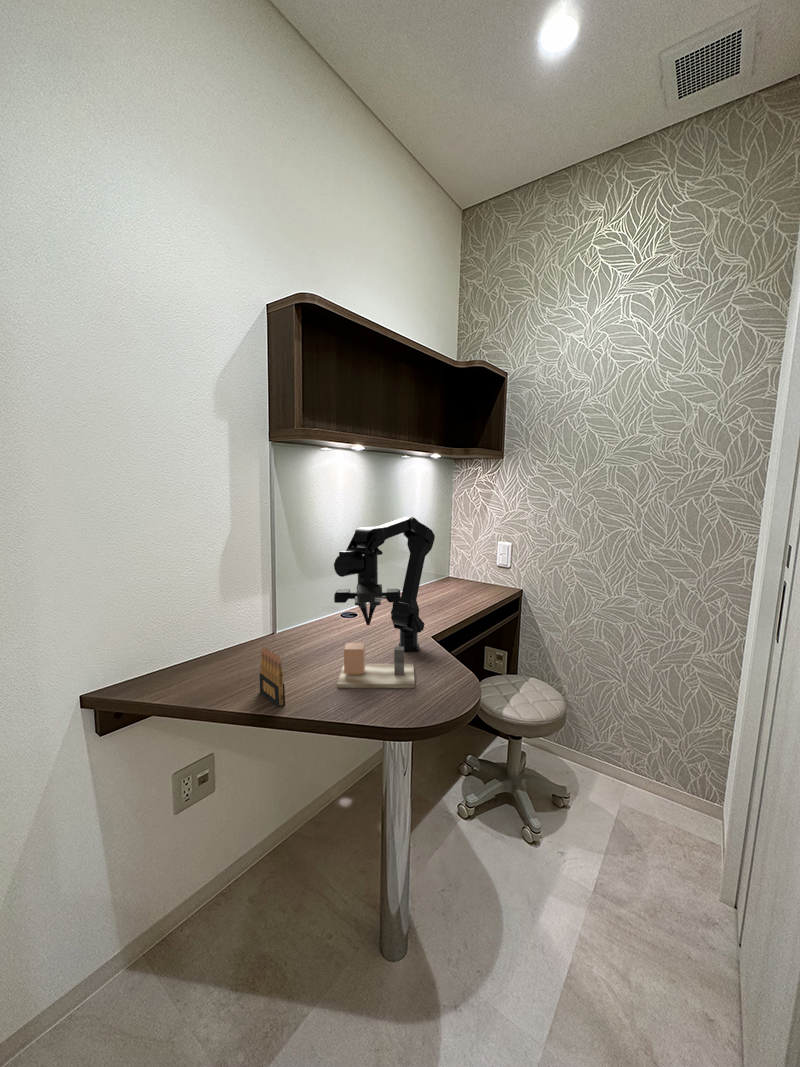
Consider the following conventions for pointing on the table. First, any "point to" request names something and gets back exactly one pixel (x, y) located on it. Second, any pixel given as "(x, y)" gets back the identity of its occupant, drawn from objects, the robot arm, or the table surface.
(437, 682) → the table surface
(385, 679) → the post board
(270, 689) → the ammunition clip
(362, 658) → the peach rectangular block
